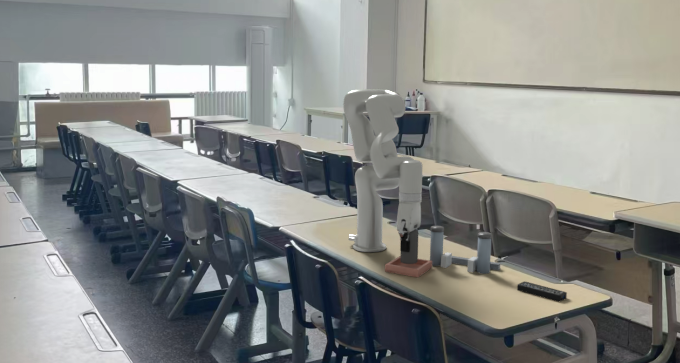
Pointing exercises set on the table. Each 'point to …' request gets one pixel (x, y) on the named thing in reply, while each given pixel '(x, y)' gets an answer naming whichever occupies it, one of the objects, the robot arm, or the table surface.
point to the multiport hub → (542, 291)
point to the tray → (408, 267)
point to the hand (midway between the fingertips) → (409, 248)
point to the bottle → (411, 249)
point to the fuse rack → (474, 263)
